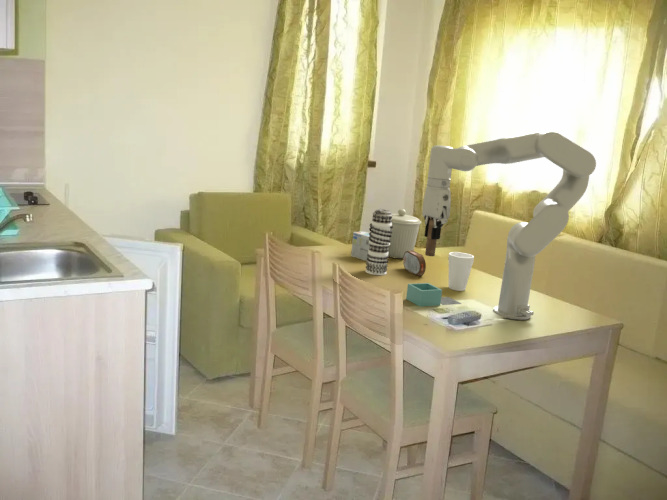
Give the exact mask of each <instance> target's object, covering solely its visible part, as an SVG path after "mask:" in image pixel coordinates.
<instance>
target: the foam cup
mask: <svg viewBox="0 0 667 500" xmlns="http://www.w3.org/2000/svg"><path fill="white" fill-rule="evenodd" d="M447 258H448V259H447V260H448V288H449V289H450V290H453V291H460V292H462V291H463V292H464V291H466V289H467V285H468V280H469V278H470V275H471V274H470V273H471V270H472V267H473V264H474V260H475V255H473V254H470V253H468V252H467V253H466V252H459V251H451V252H449V253H448V257H447Z"/></svg>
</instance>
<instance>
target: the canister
mask: <svg viewBox="0 0 667 500" xmlns="http://www.w3.org/2000/svg"><path fill="white" fill-rule="evenodd" d="M391 214H392V215H393V216H392V226H393V228H392V229H391V228H390V231H392V233H390V234H391V235H392V237H389V239H390V240H391V242H389V243H390V245H389V248H388V257H389V256H390V257H389V258H393V257H395V258H394V259H403V258H404V253H405V252H406V251H411V250H413V251H415V250H414V249H415V246H416V243H417V239H418V233H419V230H420V225H421V224H422V221H421V220H420V218H418V217H416V216H412V215H410V214H407V211H406V210H405V209H404V208H399V209H398V210H397V213H391Z"/></svg>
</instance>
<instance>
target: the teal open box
mask: <svg viewBox="0 0 667 500" xmlns="http://www.w3.org/2000/svg"><path fill="white" fill-rule="evenodd" d="M442 294H443V289H442V288H439V287H437V286H435V285H433V284H431V283H429V282H422V283H421V282H419V283H407V288H406V296H405V299H406V300H407V301H409V302H411V303H412V304H414V305H416V306H417V307H434V306H435V307H436V306H441V304H440V303H441V297H442Z"/></svg>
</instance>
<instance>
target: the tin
mask: <svg viewBox="0 0 667 500" xmlns="http://www.w3.org/2000/svg"><path fill="white" fill-rule="evenodd" d="M402 259H403V260H402V264H403V267H404V269H405V270H406V271H408V272H409V273H410V274H413V275H415V276H417V277H418V276H423V275H424V274H425V273H426V269H427V263H426V260H425V257H424V256H423V255H422V254H420V253H418V252H417V251H415V250H414V251H413V250H411V251H406V252H405V253H404V258H402Z"/></svg>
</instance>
